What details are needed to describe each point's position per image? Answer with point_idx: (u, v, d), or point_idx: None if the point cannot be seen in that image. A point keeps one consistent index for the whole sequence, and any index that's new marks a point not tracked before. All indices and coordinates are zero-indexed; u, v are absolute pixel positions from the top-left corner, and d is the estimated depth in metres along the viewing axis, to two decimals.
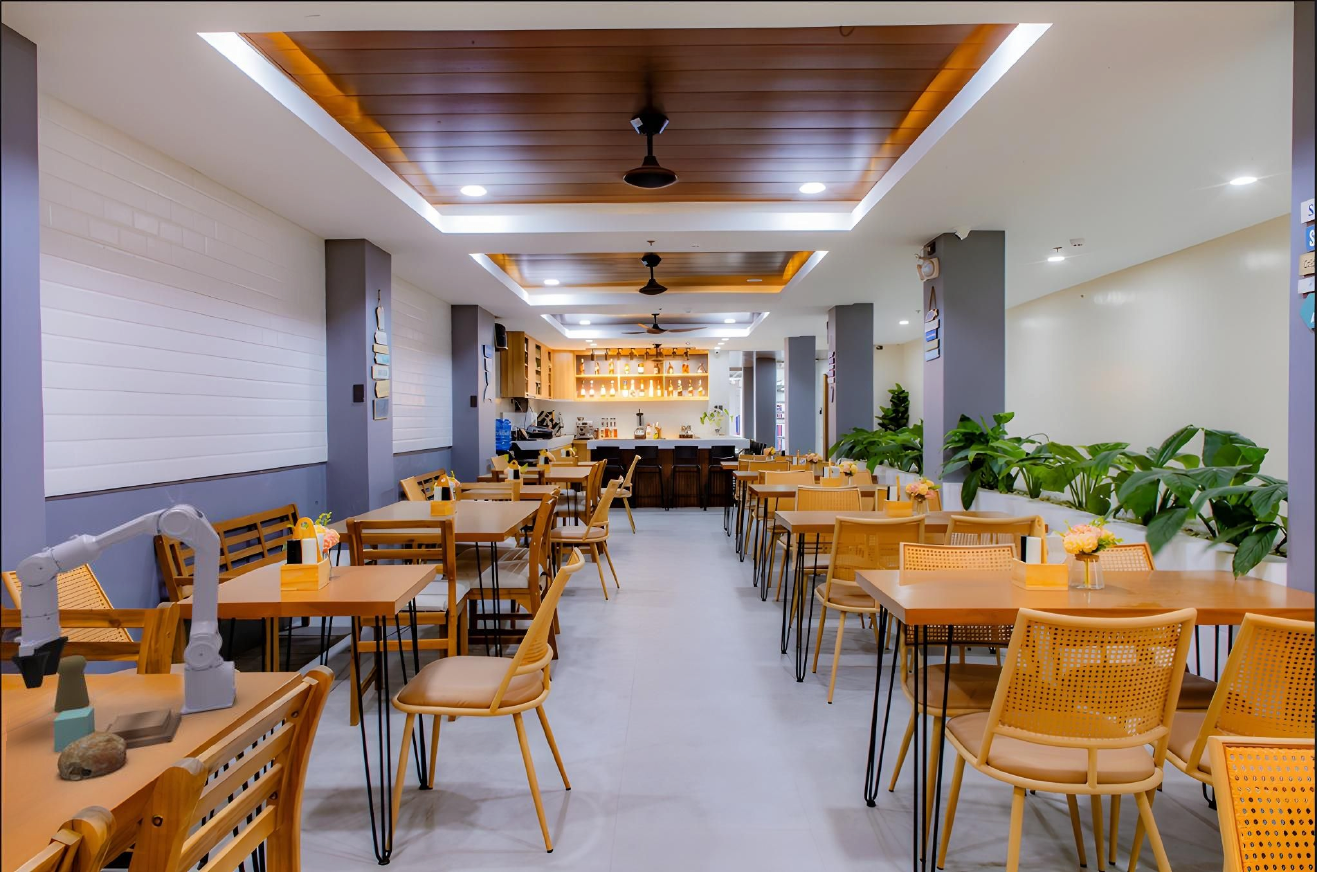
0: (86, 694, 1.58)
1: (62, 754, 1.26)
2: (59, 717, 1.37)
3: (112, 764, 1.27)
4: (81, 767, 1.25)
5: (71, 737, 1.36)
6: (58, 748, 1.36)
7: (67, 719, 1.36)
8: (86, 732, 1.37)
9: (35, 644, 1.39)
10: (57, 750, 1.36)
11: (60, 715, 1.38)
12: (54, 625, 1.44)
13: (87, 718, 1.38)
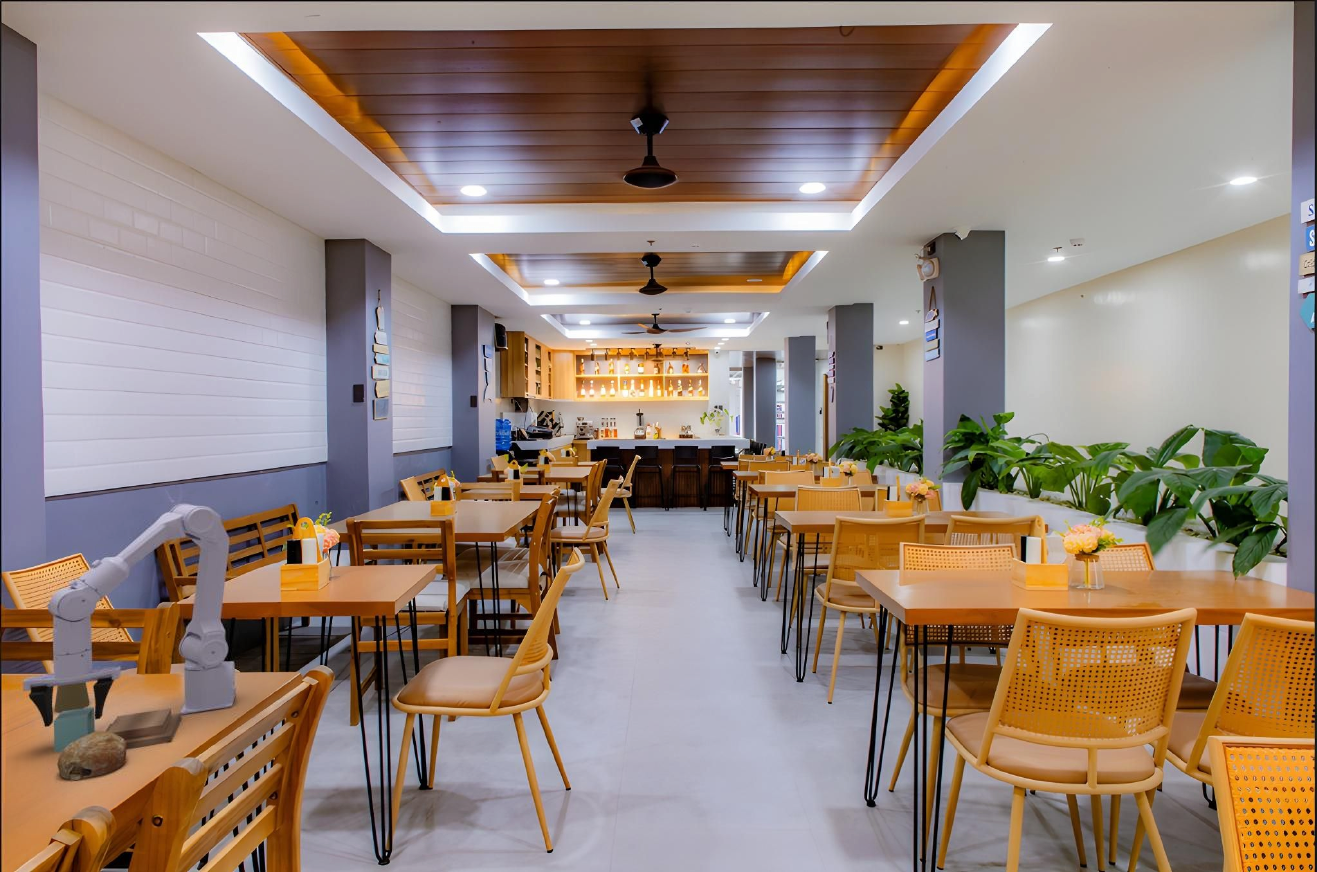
0: (86, 694, 1.58)
1: (62, 754, 1.26)
2: (59, 717, 1.37)
3: (112, 764, 1.28)
4: (81, 767, 1.25)
5: (71, 737, 1.36)
6: (58, 748, 1.36)
7: (67, 719, 1.36)
8: (86, 732, 1.37)
9: (32, 681, 1.35)
10: (57, 750, 1.36)
11: (60, 715, 1.38)
12: (61, 667, 1.36)
13: (87, 718, 1.38)
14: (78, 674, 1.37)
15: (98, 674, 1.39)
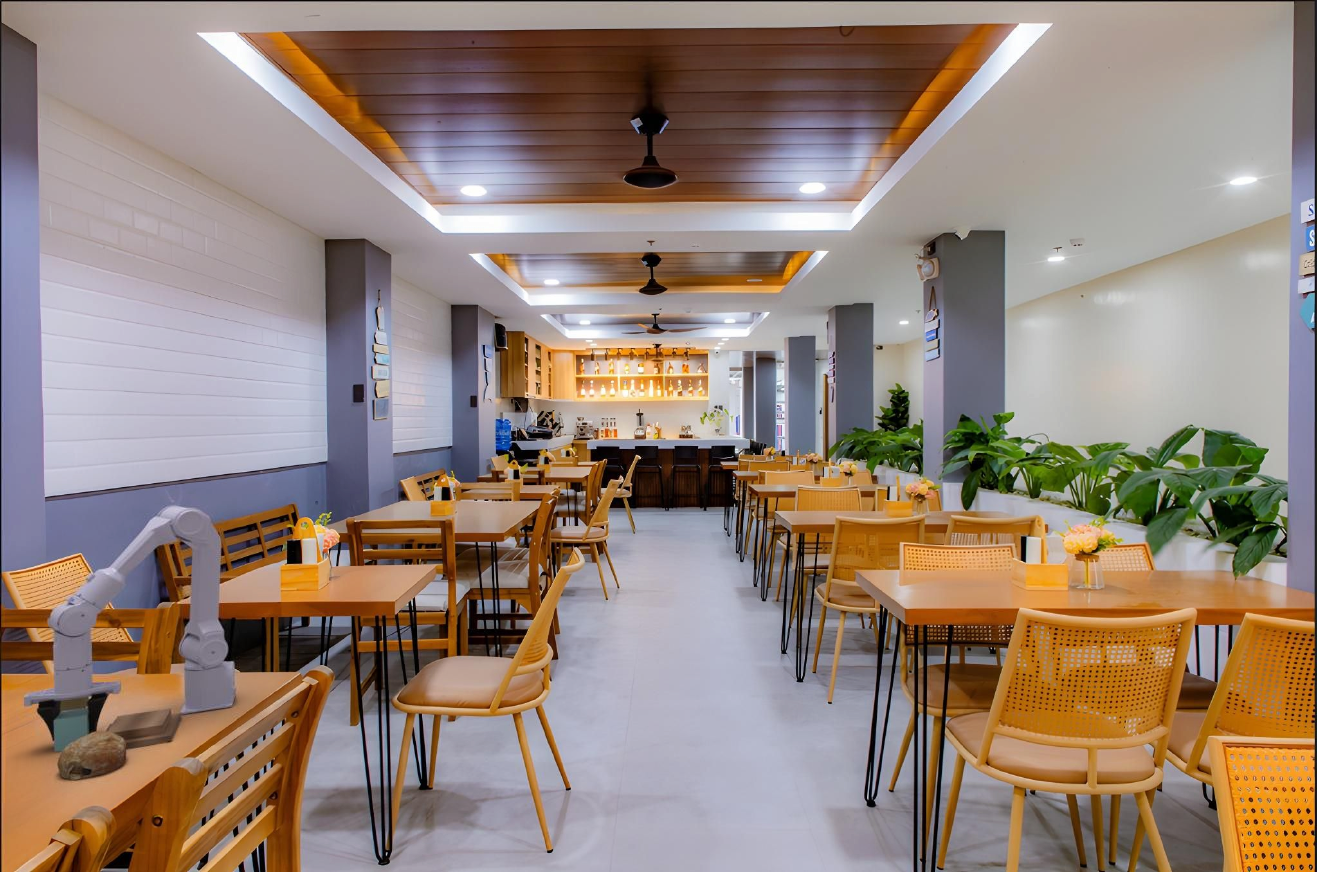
0: None
1: (62, 753, 1.26)
2: (59, 717, 1.37)
3: (112, 763, 1.28)
4: (81, 767, 1.26)
5: (70, 736, 1.36)
6: (58, 748, 1.36)
7: (67, 719, 1.36)
8: (86, 732, 1.37)
9: (32, 696, 1.35)
10: (57, 750, 1.36)
11: (60, 715, 1.38)
12: (61, 683, 1.36)
13: (87, 718, 1.38)
14: (79, 689, 1.37)
15: (99, 689, 1.39)
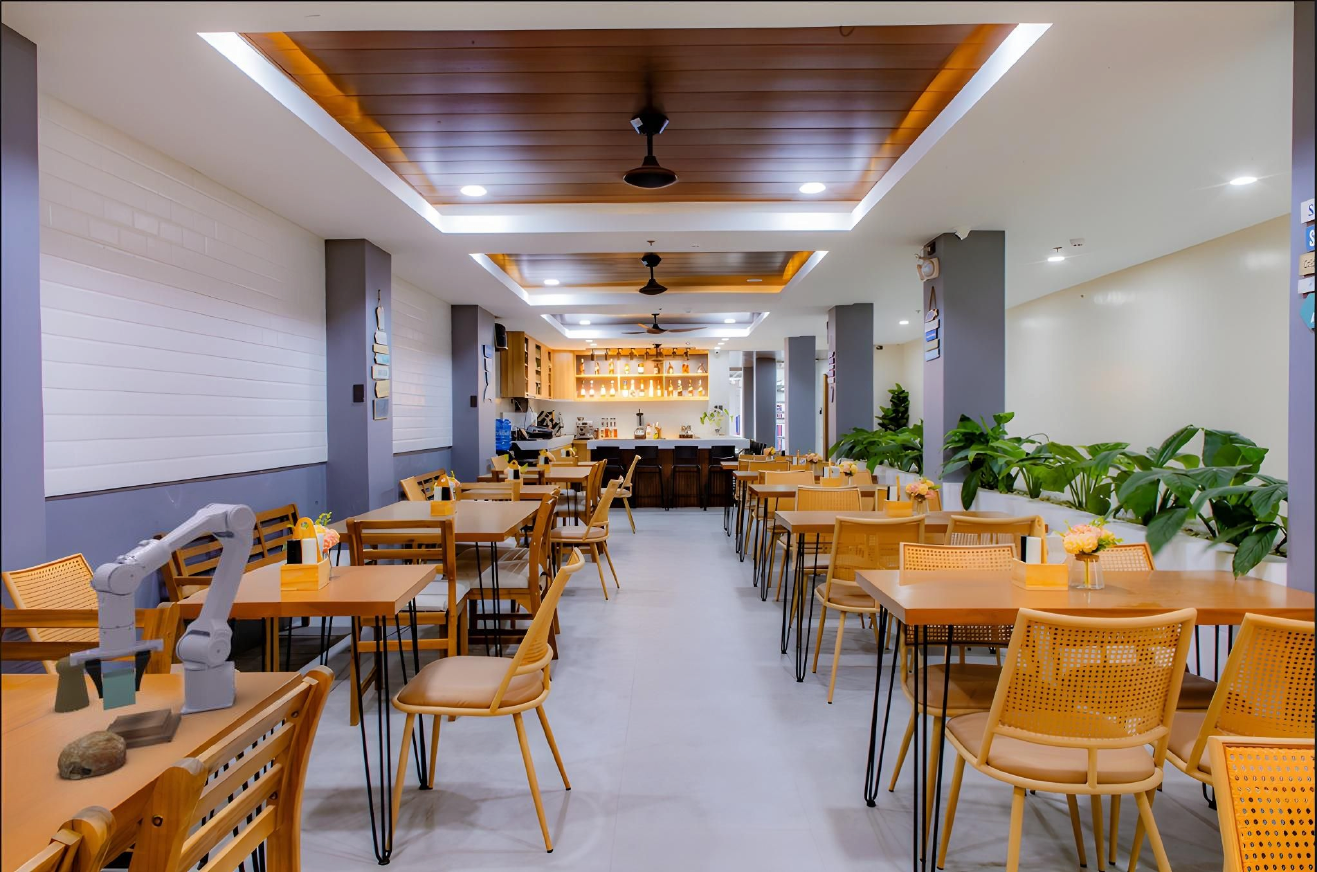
0: (86, 694, 1.58)
1: (62, 753, 1.26)
2: (105, 676, 1.39)
3: (112, 763, 1.28)
4: (81, 767, 1.26)
5: (119, 694, 1.39)
6: (107, 706, 1.38)
7: (115, 677, 1.39)
8: (134, 689, 1.41)
9: (79, 656, 1.36)
10: (106, 708, 1.38)
11: (104, 675, 1.40)
12: (110, 640, 1.38)
13: (134, 676, 1.41)
14: (127, 646, 1.40)
15: (145, 646, 1.42)
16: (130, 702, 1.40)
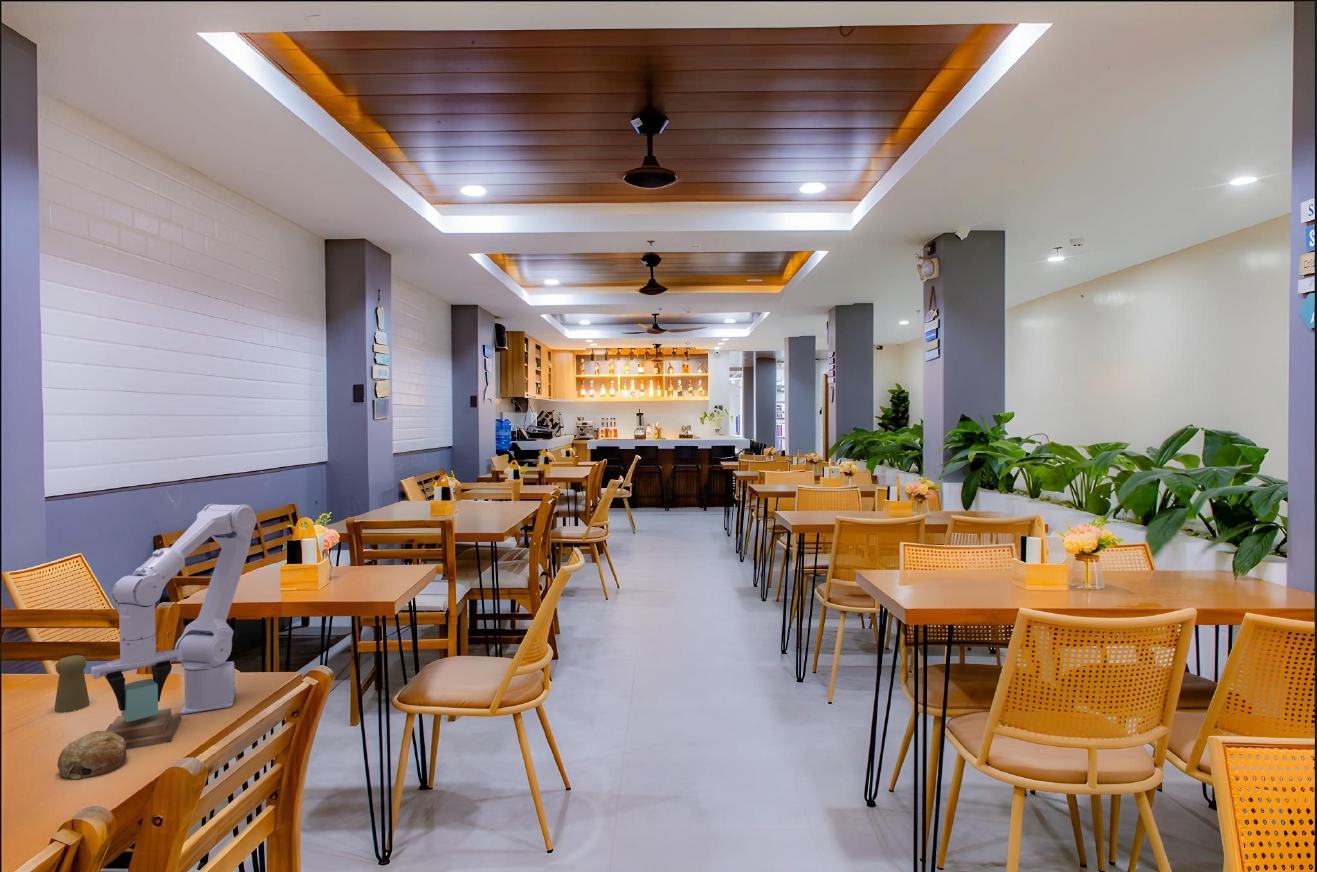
0: (86, 694, 1.58)
1: (62, 753, 1.26)
2: (127, 688, 1.40)
3: (112, 763, 1.28)
4: (81, 766, 1.26)
5: (142, 705, 1.40)
6: (130, 717, 1.39)
7: (139, 688, 1.40)
8: (157, 700, 1.42)
9: (102, 668, 1.37)
10: (130, 719, 1.39)
11: (125, 687, 1.41)
12: (134, 652, 1.39)
13: None
14: (150, 657, 1.41)
15: (166, 656, 1.44)
16: (153, 712, 1.42)
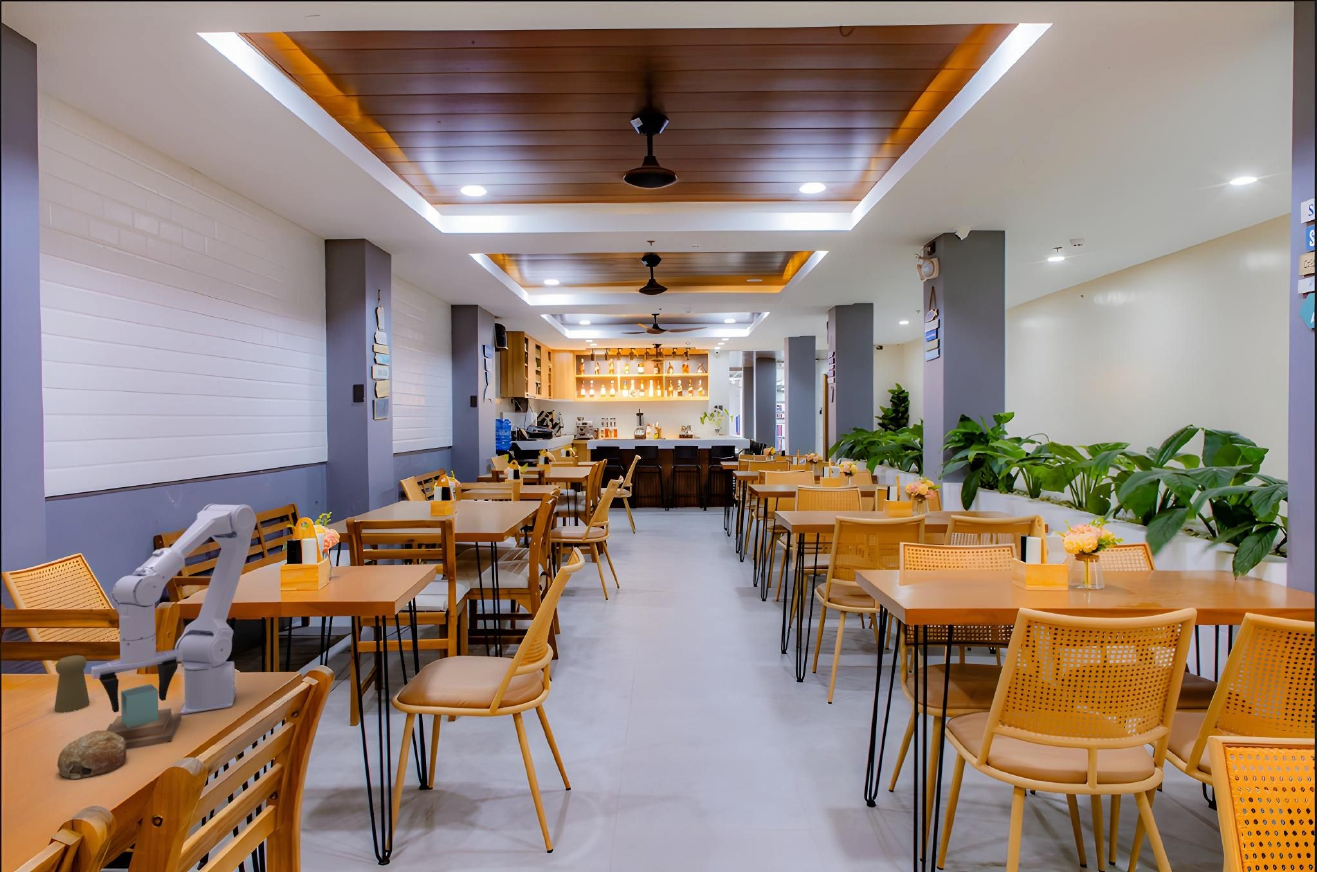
0: (86, 694, 1.58)
1: (62, 753, 1.26)
2: (127, 694, 1.40)
3: (112, 763, 1.28)
4: (81, 766, 1.26)
5: (143, 711, 1.41)
6: (131, 723, 1.39)
7: (139, 694, 1.40)
8: (157, 705, 1.42)
9: (102, 668, 1.37)
10: (130, 725, 1.39)
11: (125, 693, 1.41)
12: (134, 652, 1.39)
13: None
14: (150, 657, 1.41)
15: (166, 656, 1.44)
16: (153, 718, 1.42)
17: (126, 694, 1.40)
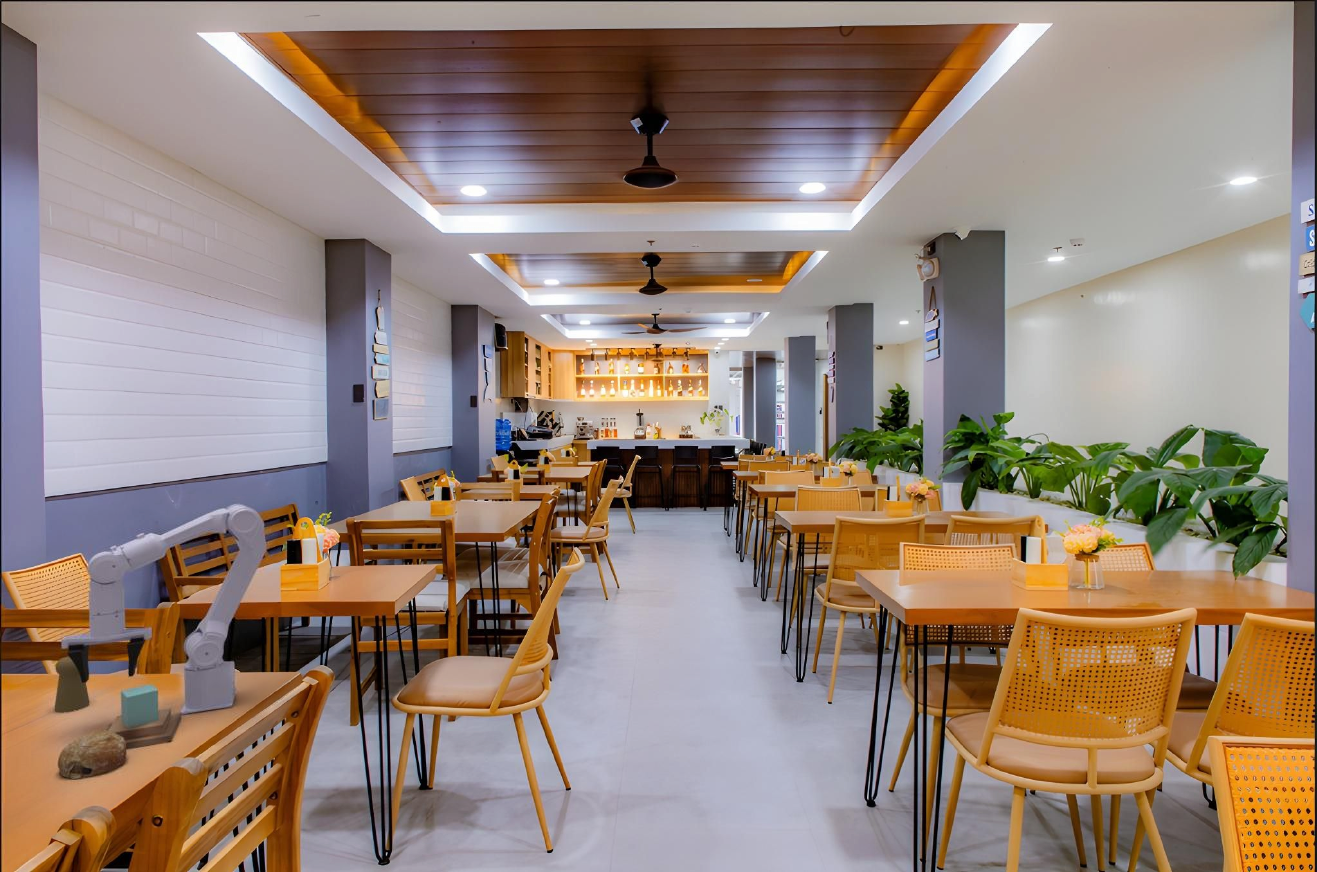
0: (86, 694, 1.58)
1: (62, 753, 1.27)
2: (127, 694, 1.40)
3: (112, 762, 1.28)
4: (81, 766, 1.26)
5: (143, 711, 1.41)
6: (131, 723, 1.39)
7: (139, 694, 1.40)
8: (157, 705, 1.42)
9: (69, 639, 1.43)
10: (130, 725, 1.39)
11: (125, 693, 1.41)
12: (96, 627, 1.43)
13: None
14: (113, 633, 1.45)
15: (131, 634, 1.47)
16: (153, 718, 1.42)
17: (126, 694, 1.40)
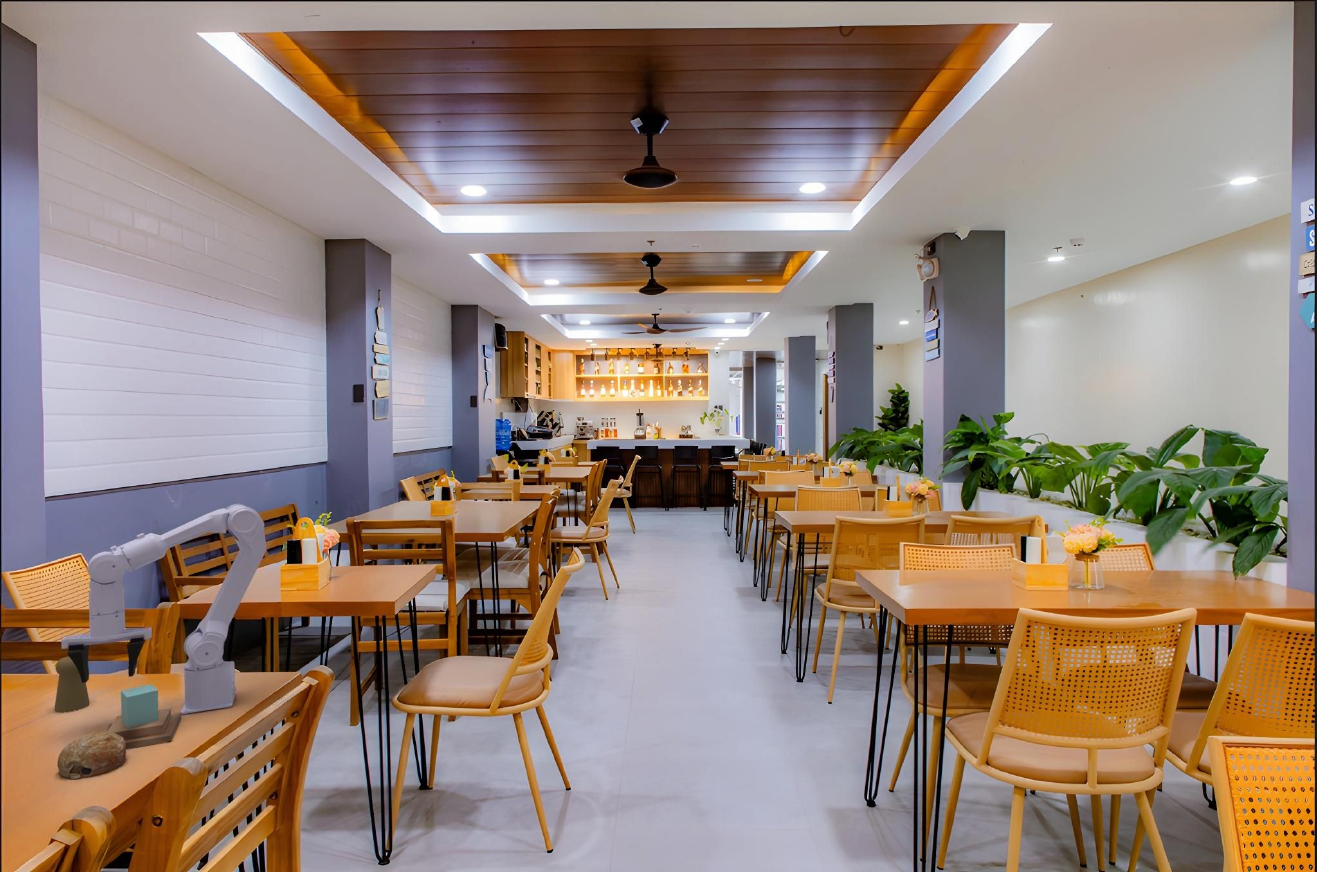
0: (86, 694, 1.58)
1: (62, 753, 1.27)
2: (127, 694, 1.40)
3: (112, 763, 1.28)
4: (81, 766, 1.26)
5: (143, 711, 1.41)
6: (131, 723, 1.39)
7: (139, 694, 1.40)
8: (157, 705, 1.42)
9: (69, 639, 1.43)
10: (130, 725, 1.39)
11: (125, 693, 1.41)
12: (96, 627, 1.43)
13: None
14: (113, 633, 1.45)
15: (131, 634, 1.47)
16: (153, 718, 1.42)
17: (126, 694, 1.40)
